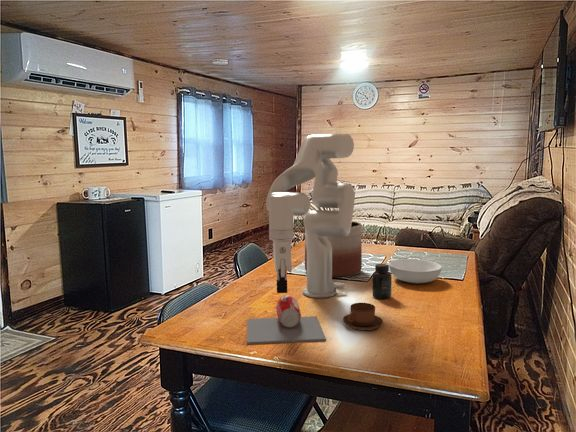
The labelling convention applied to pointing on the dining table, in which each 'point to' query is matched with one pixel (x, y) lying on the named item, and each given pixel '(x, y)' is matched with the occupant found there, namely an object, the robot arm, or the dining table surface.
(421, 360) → the dining table surface
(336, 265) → the planter
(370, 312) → the cup and saucer
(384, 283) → the supplement bottle
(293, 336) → the mat
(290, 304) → the soda can
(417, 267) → the serving bowl
